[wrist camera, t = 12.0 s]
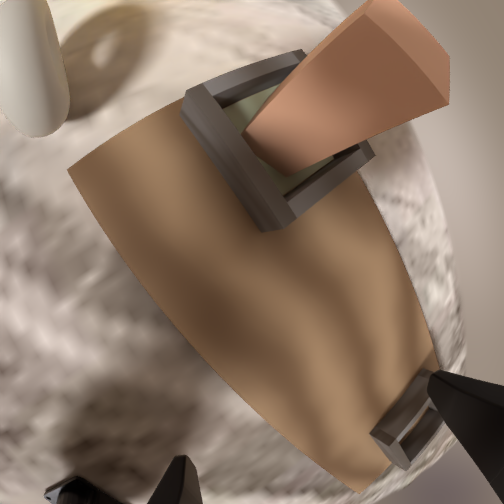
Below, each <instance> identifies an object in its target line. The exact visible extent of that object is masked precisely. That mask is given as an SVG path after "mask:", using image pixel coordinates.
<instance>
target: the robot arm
mask: <svg viewBox="0 0 504 504" xmlns="http://www.w3.org/2000/svg"><path fill="white" fill-rule="evenodd" d="M427 394H428V396H429V397H430V399H431V400H432V402H433V404H434V405H435V407H436V409H437V410H438V412H439V414H440V416H441V417H442V419H443V420H444V422H445V423H446V425H447V426H448V427H449V428H450V430H451V431H452V432H453V434H454V435H455V436H456V438H457V439H458V440H459V442H460V443H461V444H462V446H463V447H464V448H465V450H466V451H467V453H468V454H469V455H470V457H471V458H472V459H473V461H474V462H475V464H476V465H477V466H478V467H479V469H480V470H481V472H482V473H483V475H484V476H485V478H486V479H487V481H488V482H489V483H490V485H491V487H492V488H493V490H494V491H495V493H496V494H497V495H498V497H499V498H500V500H501V502H502V503H503V504H504V386H502V385H498V384H493V383H489V382H485V381H481V380H477V379H473V378H469V377H465V376H462V375H458V374H454V373H450V372H447V371H443V370H437V371H435V372H433V373H432V374H431V375H430V377H429V381H428V385H427ZM44 498H45V499H46V500H48V501H49V502H51V503H52V504H122V503H120V502H118V501H116V500H115V499H113V498H111V497H110V496H108V495H107V494H105V493H103V492H102V491H100V490H99V489H97V488H96V487H94V486H93V485H91V484H90V483H88V482H87V481H86V480H84V479H83V478H81V477H78V476H76V477H73V478H72V479H70V480H68V481H66V482H64V483H62V484H60V485H59V486H57V487H55V488H53V489H51V490H49V491H47V492H45V493H44ZM147 504H203V502H202V497H201V492H200V487H199V481H198V475H197V470H196V467H195V466H194V464H193V463H192V461H191V460H190V458H189V457H188V456H187V455H178V456H175V457H174V458H173V460H172V462H171V464H170V465H169V467H168V469H167V471H166V472H165V474H164V476H163V477H162V479H161V481H160V483H159V484H158V486H157V488H156V489H155V491H154V493H153V495H152V496H151V498H150V500H149V501H148V503H147Z"/></svg>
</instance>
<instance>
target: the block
mask: <svg viewBox="0 0 504 504" xmlns="http://www.w3.org/2000/svg"><path fill="white" fill-rule="evenodd" d="M449 59H450V58H449V55H448V54H447V53H446V51H445V50H444V49H443V48H442V46H441V45H440V44H439V43H438V42H437V40H436V39H435V38H434V37H433V36H432V35H431V34H430V33H429V32H428V30H427V29H426V28H425V27H424V26H423V25H422V24H421V23H420V22H419V21H418V20H417V18H415V16H414V15H412V14H411V12H410V11H408V10H407V9H406V8H405V7H404V6H403V5H402V4H401V3H400V2H399V1H398V0H367V1H366V2H365V3H364V4H363V5H361V6H360V7H359V8H358V9H357V10H356V11H354V13H352V14H351V15H350V16H349V17H348V18H347V19H345V20H344V21H343V22H342V23H341V24H340V25H339V26H338V27H337V28H336V29H334V30H333V31H332V32H331V33H330V34H329V35H328V36H327V37H326V38H325V39H324V40H323V41H322V42H321V43H320V44H319V45H318V46H317V47H316V48H315V49H314V50H313V51H312V52H311V53H310V54H309V55H308V56H307V57H306V58H305V59H304V60H303V61H302V62H301V63H300V64H299V65H298V66H297V67H296V68H295V69H294V70H293V71H292V72H291V73H290V74H289V75H288V76H287V77H286V78H285V80H284V81H283V82H282V83H281V84H280V85H279V86H278V87H277V88H276V89H275V90H274V92H273V93H272V94H271V95H270V96H269V97H268V98H267V99H266V100H265V102H264V103H263V104H262V106H261V107H260V108H259V110H258V111H257V112H256V114H255V115H254V116H253V118H252V119H251V120H250V122H249V123H248V125H247V126H246V127H245V129H244V130H243V131H242V133H241V136H242V137H243V138H244V140H245V141H246V143H247V144H248V146H249V147H250V148H251V150H252V151H253V153H254V154H255V155H256V156H257V157H259V158H260V159H262V160H263V161H264V162H266V163H267V164H269V165H270V166H271V167H273V168H274V169H275V170H277V171H278V172H279V173H281V174H282V175H284V176H285V177H286V178H287V177H289V176H291V175H293V174H295V173H297V172H299V171H301V170H303V169H305V168H307V167H309V166H311V165H313V164H315V163H317V162H319V161H321V160H323V159H325V158H327V157H329V156H331V155H334V154H336V153H338V152H340V151H342V150H344V149H346V148H348V147H351V146H353V145H355V144H357V143H359V142H362V141H364V140H366V139H368V138H370V137H373V136H375V135H377V134H379V133H382V132H384V131H386V130H389V129H391V128H393V127H395V126H398V125H400V124H402V123H405V122H407V121H410V120H412V119H414V118H417V117H419V116H421V115H424V114H427V113H429V112H432V111H434V110H437V109H439V108H442V107H444V106H447V105H449V91H450V60H449Z"/></svg>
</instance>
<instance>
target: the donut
mask: <svg viewBox="0 0 504 504" xmlns="http://www.w3.org/2000/svg"><path fill="white" fill-rule="evenodd" d="M69 106H70V94H69V87H68V81H67V76H66V72H65V67H64V63H63V58H62V54H61V50H60V46H59V41H58V37H57V33H56V29H55V26H54V22H53V18H52V15H51V12H50V9H49V6H48V4H47V1H46V0H6V1H5V2H4V3H2V4H1V5H0V109H1V111H2V112H3V114H4V115H5V117H6V118H7V119H8V121H9V122H10V123H11V124H12V126H13V127H14V128H15V129H16V130H18V131H19V132H21V133H22V134H23V135H25V136H28V137H31V138H37V137H44V136H47V135H50V134H52V133H54V132H55V131H56V130H58V129H59V128H60V127H61V125H62V124H63V123H64V122H65V120H66V117H67V115H68V112H69Z"/></svg>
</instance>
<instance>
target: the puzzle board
mask: <svg viewBox="0 0 504 504" xmlns="http://www.w3.org/2000/svg"><path fill="white" fill-rule="evenodd" d="M306 57H307V55H306V54H305V53H304V52H303V50H302V49H300V50H296V51H292V52H289V53H285V54H281V55H278V56H275V57H271V58H268V59H265V60H262V61H259V62H256V63H253V64H250V65H247V66H244V67H241V68H239V69H236V70H233V71H231V72H228V73H225V74H223V75H220V76H218V77H215V78H213V79H211V80H208V81H206V82H204V83H201V84H199V85H197V86H195V87H192V88H190V89H188V90H186V94H185V97H183V98H181V99H179V100H177V101H175V102H173V103H171V104H169V105H167V106H165V107H164V108H162V109H160V110H158V111H156V112H154V113H152V114H151V115H149V116H147V117H145V118H144V119H142V120H140V121H138V122H137V123H135V124H133V125H132V126H130V127H128V128H127V129H125V130H123V131H122V132H120V133H119V134H117V135H115V136H114V137H112V138H111V139H109V140H108V141H106V142H105V143H103V144H102V145H100V146H99V147H97V148H96V149H95V150H93V151H92V152H90V153H89V154H87V155H86V156H85V157H83V158H82V159H81V160H79V161H78V162H76V163H75V164H74V165H73V166H71V167H70V168H69V169H67V171H68V173H69V175H70V176H71V178H72V180H73V182H74V183H75V185H76V187H77V189H78V190H79V192H80V194H81V195H82V197H83V199H84V200H85V202H86V204H87V205H88V207H89V209H90V210H91V212H92V213H93V215H94V217H95V218H96V220H97V221H98V223H99V224H100V226H101V227H102V229H103V231H104V232H105V234H106V235H107V237H108V238H109V240H110V241H111V242H112V244H113V245H114V247H115V248H116V250H117V251H118V253H119V254H120V255H121V257H122V258H123V260H124V261H125V263H126V264H127V265H128V267H129V268H130V269H131V271H132V272H133V274H134V275H135V276H136V278H137V279H138V280H139V282H140V283H141V284H142V286H143V287H144V288H145V289H146V291H147V292H148V293H149V295H150V296H151V297H152V298H153V300H154V301H155V302H156V304H157V305H158V306H159V307H160V309H161V310H162V311H163V312H164V313H165V315H166V316H167V317H168V318H169V320H170V321H171V322H172V323H173V324H174V326H175V327H176V328H177V329H178V330H179V331H180V333H181V334H182V335H183V336H184V337H185V338H186V340H187V341H188V342H189V343H190V344H191V345H192V346H193V347H194V349H195V350H196V351H197V352H198V353H199V354H200V355H201V356H202V357H203V359H204V360H205V361H206V362H207V363H208V364H209V365H210V366H211V367H212V368H213V369H214V370H215V371H216V372H217V373H218V375H219V376H220V377H221V378H222V379H223V380H224V381H225V382H226V383H227V384H228V385H229V386H230V387H231V388H232V389H233V390H234V391H235V392H236V393H237V394H238V395H239V396H240V397H241V398H242V399H243V400H244V401H245V402H246V403H247V404H248V405H250V406H251V407H252V408H253V409H254V410H255V411H256V412H257V413H258V414H259V415H260V416H261V417H262V418H263V419H265V420H266V421H267V422H268V423H269V424H270V425H271V426H272V427H273V428H275V429H276V430H277V431H278V432H279V433H280V434H281V435H283V436H284V437H285V438H286V439H287V440H288V441H290V442H291V443H292V444H293V445H294V446H296V447H297V448H298V449H299V450H300V451H302V452H303V453H304V454H305V455H307V456H308V457H309V458H310V459H312V460H313V461H314V462H315V463H317V464H318V465H319V466H321V467H322V468H323V469H325V470H326V471H327V472H329V473H330V474H331V475H333V476H334V477H335V478H337V479H338V480H339V481H341V482H342V483H344V484H345V485H347V486H348V487H349V488H351V489H352V490H354V491H355V492H357V493H358V494H360V493H361V492H362V491H363V490H364V489H366V488H367V487H368V486H369V485H370V484H371V483H372V482H373V481H374V480H375V479H376V478H377V477H378V476H379V475H380V474H381V473H382V472H383V471H384V470H385V469H386V468H387V467H388V466H389V465H390V464H391V463H394V464H395V465H397V466H398V467H400V468H401V469H403V470H405V471H407V470H408V469H409V467H410V466H411V465H412V464H413V463H414V462H415V461H416V460H417V458H418V457H419V456H420V455H421V454H422V452H423V451H424V450H425V449H426V448H427V446H428V445H429V444H430V442H431V441H432V440H433V439H434V437H435V436H436V435H437V433H438V432H439V431H440V429H441V428H442V426H443V425H444V424H445V422H444V420H443V419H442V417H441V416H440V414H439V412H438V410H437V409H436V407H435V405H434V404H433V402H432V400H431V399H430V397H429V396H428V394H427V385H428V381H429V377H430V375H431V374H432V373H433V372H435V371H437V370H440V369H439V365H438V361H437V357H436V354H435V350H434V347H433V344H432V340H431V337H430V334H429V331H428V328H427V325H426V322H425V319H424V316H423V313H422V310H421V307H420V304H419V302H418V299H417V296H416V294H415V291H414V288H413V286H412V283H411V281H410V278H409V276H408V273H407V271H406V269H405V266H404V264H403V261H402V259H401V257H400V255H399V252H398V250H397V248H396V246H395V243H394V241H393V239H392V237H391V235H390V233H389V231H388V229H387V226H386V224H385V222H384V220H383V218H382V216H381V214H380V212H379V210H378V208H377V207H376V205H375V203H374V201H373V199H372V197H371V195H370V193H369V191H368V190H367V188H366V186H365V184H364V182H363V181H362V179H361V177H360V175H359V174H358V172H357V170H358V169H359V168H361V167H362V166H363V165H364V164H366V163H367V162H368V161H369V160H371V159H372V158H373V157H374V156H376V155H375V154H374V152H373V150H372V148H371V147H370V145H369V143H368V142H367V140H364V141H362V142H359V143H357V144H355V145H353V146H351V147H348V148H346V149H344V150H342V151H340V152H338V153H336V154H334V155H331V156H329V157H327V158H325V159H323V160H321V161H319V162H317V163H315V164H313V165H311V166H309V167H307V168H305V169H303V170H301V171H299V172H297V173H295V174H293V175H291V176H289V177H287V178H286V177H285V176H284V175H282V174H281V173H279V172H278V171H277V170H275V169H274V168H273V167H271V166H270V165H269V164H267V163H266V162H264V161H263V160H262V159H260V158H259V157H257V156H256V155H255V154H254V153H253V151H252V150H251V148H250V147H249V146H248V144H247V143H246V141H245V140H244V138H243V137H242V136H241V133H242V131H243V130H244V129H245V127H246V126H247V125H248V123H249V122H250V120H251V119H252V118H253V116H254V115H255V114H256V112H257V111H258V110H259V108H260V107H261V106H262V104H263V103H264V102H265V100H266V99H267V98H268V97H269V96H270V95H271V94H272V93H273V92H274V90H275V89H276V88H277V87H278V86H279V85H280V84H281V83H282V82H283V81H284V80H285V78H286V77H287V76H288V75H289V74H290V73H291V72H292V71H293V70H294V69H295V68H296V67H297V66H298V65H299V64H300V63H301V62H302V61H303V60H304V59H305V58H306Z"/></svg>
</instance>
